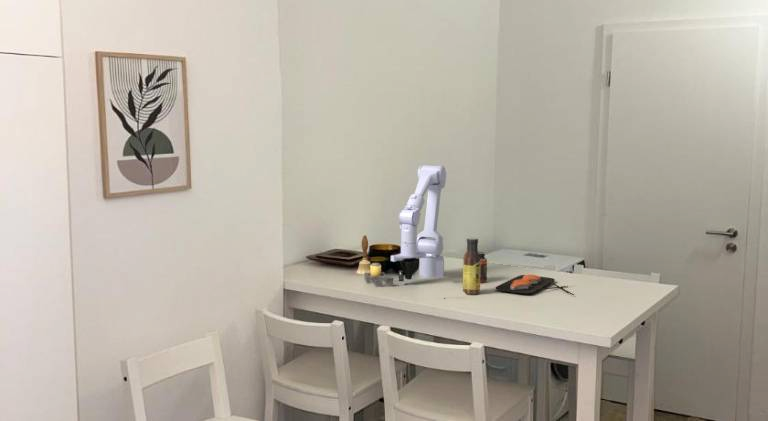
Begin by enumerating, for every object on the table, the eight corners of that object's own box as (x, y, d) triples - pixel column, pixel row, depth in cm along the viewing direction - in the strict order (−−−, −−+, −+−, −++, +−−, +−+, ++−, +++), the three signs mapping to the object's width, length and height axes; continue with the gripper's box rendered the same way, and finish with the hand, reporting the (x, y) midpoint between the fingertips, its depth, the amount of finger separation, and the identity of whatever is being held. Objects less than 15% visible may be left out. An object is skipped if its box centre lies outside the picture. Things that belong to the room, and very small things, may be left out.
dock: (406, 279, 292) (406, 268, 292) (414, 289, 275) (415, 278, 275) (362, 280, 289) (362, 269, 289) (368, 290, 273) (368, 279, 272)
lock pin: (403, 284, 278) (403, 270, 277) (404, 285, 276) (404, 271, 276) (381, 284, 277) (382, 271, 276) (382, 285, 275) (382, 272, 274)
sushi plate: (521, 278, 298) (521, 269, 298) (597, 288, 283) (597, 278, 282) (492, 293, 273) (492, 283, 273) (574, 304, 258) (574, 293, 258)
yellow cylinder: (379, 279, 285) (379, 262, 285) (382, 281, 282) (382, 264, 281) (369, 280, 285) (369, 262, 284) (371, 282, 281) (371, 265, 280)
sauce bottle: (479, 295, 267) (480, 240, 264) (461, 294, 268) (462, 239, 265) (480, 291, 273) (482, 237, 271) (463, 290, 274) (464, 236, 272)
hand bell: (375, 277, 294) (375, 237, 292) (353, 277, 295) (353, 237, 293) (375, 273, 303) (375, 234, 301) (354, 273, 303) (355, 233, 301)
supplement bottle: (486, 280, 292) (487, 251, 291) (486, 283, 286) (487, 254, 285) (470, 279, 293) (471, 251, 291) (471, 283, 287) (471, 253, 285)
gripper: (418, 239, 283) (417, 274, 284) (386, 242, 275) (385, 279, 276) (429, 241, 277) (429, 278, 279) (397, 245, 269) (396, 282, 271)
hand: (408, 278), depth 277 cm, fingers closed
